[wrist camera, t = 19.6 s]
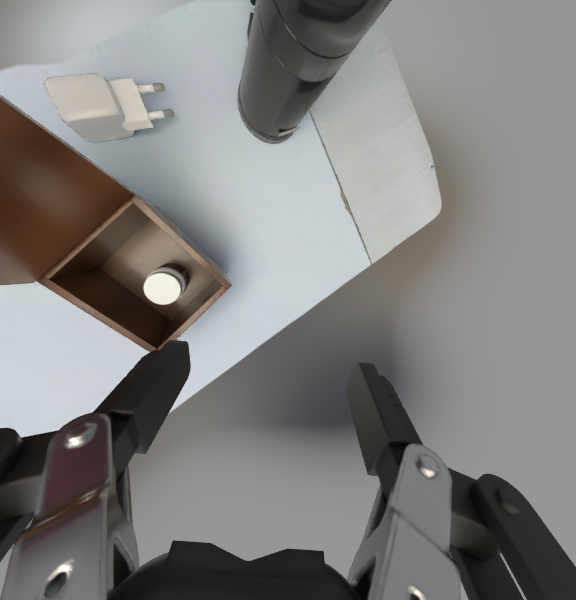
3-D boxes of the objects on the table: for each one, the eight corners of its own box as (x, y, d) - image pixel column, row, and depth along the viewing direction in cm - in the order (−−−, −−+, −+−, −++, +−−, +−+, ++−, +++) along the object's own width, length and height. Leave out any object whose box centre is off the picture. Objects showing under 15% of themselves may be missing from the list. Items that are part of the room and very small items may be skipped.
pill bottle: (148, 274, 32) (128, 284, 24) (176, 256, 33) (165, 261, 25) (171, 298, 34) (159, 315, 26) (196, 281, 34) (192, 293, 27)
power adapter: (165, 92, 28) (154, 57, 23) (181, 135, 30) (174, 112, 24) (68, 104, 25) (30, 68, 20) (92, 150, 27) (62, 128, 22)
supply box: (226, 273, 36) (232, 285, 27) (172, 325, 36) (157, 357, 26) (157, 206, 31) (131, 190, 21) (91, 266, 30) (33, 279, 20)
